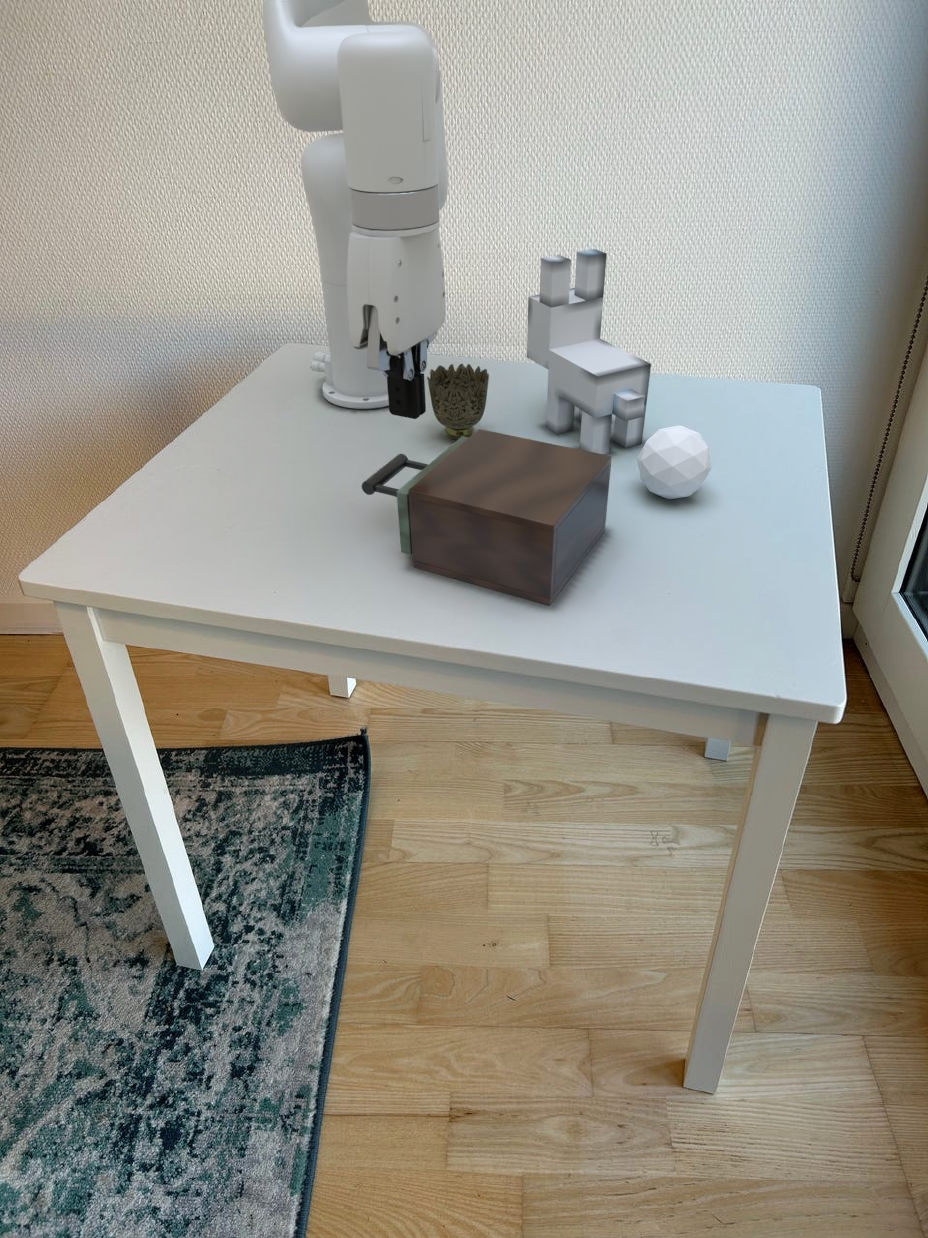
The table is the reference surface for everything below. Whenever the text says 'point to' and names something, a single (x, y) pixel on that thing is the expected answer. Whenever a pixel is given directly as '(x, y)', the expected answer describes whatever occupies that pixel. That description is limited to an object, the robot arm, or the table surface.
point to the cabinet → (510, 514)
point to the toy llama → (584, 356)
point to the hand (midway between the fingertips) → (407, 413)
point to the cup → (458, 398)
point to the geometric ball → (674, 462)
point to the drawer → (402, 494)
